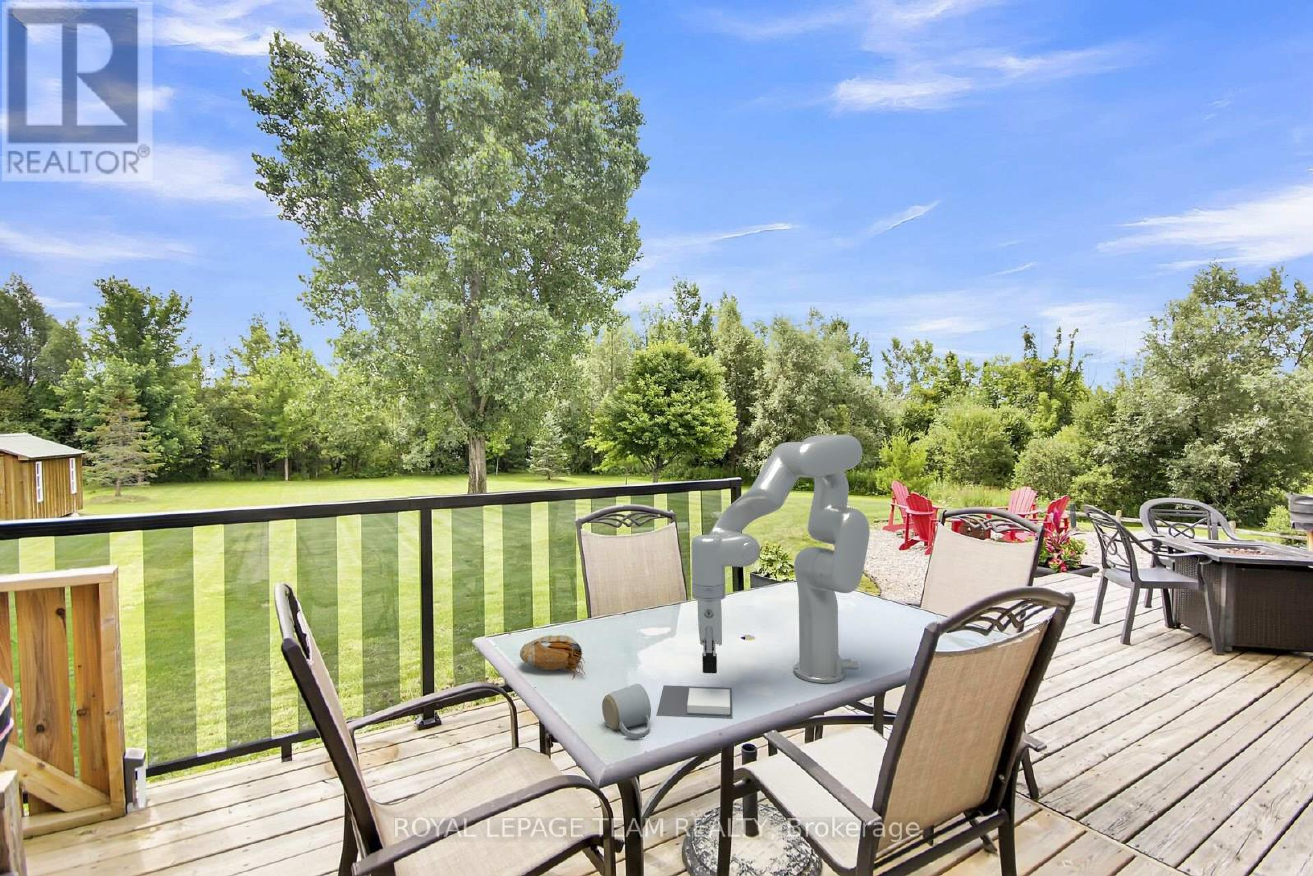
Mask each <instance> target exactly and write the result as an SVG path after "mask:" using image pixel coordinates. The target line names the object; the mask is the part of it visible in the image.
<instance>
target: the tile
mask: <svg viewBox="0 0 1313 876" xmlns="http://www.w3.org/2000/svg"><path fill="white" fill-rule="evenodd" d="M687 713H688V714H695V715H719V716H729V714H730V689H704V688H689V696H688V703H687Z"/></svg>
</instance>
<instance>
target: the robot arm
mask: <svg viewBox="0 0 1313 876" xmlns="http://www.w3.org/2000/svg"><path fill="white" fill-rule="evenodd" d="M862 456H863V447H862V444H861V442H860V441H859V440H858V439H857V437H855V436H852V435H851V434H817V435H812V436H809V437H807V438H805V439H804V440H803V441H788V442H784V443H780V444H778V445H777V446H776V447H775V448H774V449H773V450H772V452H771V454H770V456H769V458H768V459H767V460H766V462H765V464H764V466H763V468H762V469H761V471H760V472H759V474H758V475H757V477H756V479H755V481H754V482H753V484H752V485H751V487H750V488H749V489H748V490H747V491H746V492H744V493H743V494H742V495H740V496H739V497H738V498H737V499H736V500H735V501H733V502H732V503H731V504H730V505H729V506H727V507H726V508H725V510H723V511H722V513H721V514H720V516H719V517H718V519H717V520H716V522H715V524H714V525H713V527H712V529H711V530H710V532H709V534H700V535H699V534H698V535H695V536H694V537H693V538H692V540H691V595H692V596H691V597H692V599H694V600H697V622H698V623H697V625H698V635H699V643H700V645H701V646H702V647H703V648H702V649H703V650H702V651H703V652H702V654H701V655H702V661H701V662H702V673H703V674H713V675H714V674H717V672H718V662H717V661H718V660H717V659H718V655H717V653H716V651H717V650H716V649H717V648H716V646H717V645H719V646H722V643H723V630H722V629H723V618H722V616H723V615H722V614H723V612H722V600H724V599H725V598H726V567H736V568H737V567H738V568H744V567H745V568H746V567H748V566H752V565H753V564H755V563H756V562H757V561H758V559H759V558H760V555H761V546H760V543H759V542H758V541H757V539H756V538H755V537H754V536H751V535H749V534H747V533H743V530H745V528H746V527H747V526H748V525H750V524H751V523H752V522H754V521H756V520H757V519H759V518H762V517H764V516H767V515H770V514H772V513H775V512H776V511H779V510H780V509H781V508H782V507H783V505H784V504H785V502H786V499H787V498H788V496H789V495H790V493H791V491H792V489H793V488H794V486H795V484H796V483H797V481H798V479H799V478H810V479H811V478H812V479H813V481H814V482H813V483H814V488H813V496H812V502H811V507H810V511H809V517H808V522H807V531H808V535H809V537H811V538H812V539H813V540H815V541H817V542H820V543H824V544H828V545H834V549H831V548H830V549H829V548H824V547H820V546H809V547H808V546H807V547H805V548H803V549H801V550H800V551H799V552H798V553H797V554H796V556H795V559H794V564H793V566H794V567H793V569H794V575H795V581H796V584H797V585H796V586H797V592H798V641H799V642H798V647H799V648H798V649H799V651H798V653H799V655H798V656H799V658H798V659H799V660H798V661H799V662H797V663H795V664H793V667H792V669H793V670H792V671H793V674H794V675H795V676H796V677H798V678H800V679H802V680H805V681H806V682H807V681H808V682H811V683H818V684H830V683H831V684H832V683H838V682H840V681H843V680H844V679H845V678H846V670H858V671H859V670H860V669H859V668H860V667H859V665H860V664H859V661H858V660H852V659H851V658H842V657H840V655H839V654H840V653H839V605H838V599H837V595H836V593H840V594H849V593H852V592H854V591H855V590H857V588H858V586H859V585H860V584H861V581H862V577H863V574H864V569H865V563H866V558H867V552H868V547H869V541H870V533H871V532H870V525H869V524H870V523H869V521H868V518H867V516H866V515H865V514H864V513H863V512H862V511H861V510H859V509H857V508H854V507H852V508H851V507H848V501H849V493H850V486H849V481H848V478H847V476H846V474H845V471H848V470H853V468H855V467H857V466H858V465H859V463H860V462H861V460H862ZM835 592H836V593H835Z"/></svg>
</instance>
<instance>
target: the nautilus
mask: <svg viewBox="0 0 1313 876" xmlns="http://www.w3.org/2000/svg"><path fill="white" fill-rule="evenodd" d="M583 654H584V653H583V649H582V647H581V645H580V644H579V643H578V642H577V641H576V640H575V639H574V638H572V637H571V636H568V635H559V634H557V635H544V636H542V637H539V638H536V639H534V640H532V641H529V642H528V643H525V644H523V645H522V647H521V649H520V651H519V657H520V659H521V661H522V662H524V663H525V664H527V665H533V667H535V668H536V669H538V670H540V669H541V671H546V670H547V671H554V670H557V669H560V670H568V671H571V672H573V677H572V679H574V678H575V676H576V673H577V674H579V675H582V676H584V677H586V672H585V671H584V665H583V662H584V664H586V663H585V659H584V658H583V656H582V655H583ZM582 661H583V662H582ZM579 664H580V665H581V666H580V665H579ZM577 669H578V671H577ZM581 671H582V672H581Z"/></svg>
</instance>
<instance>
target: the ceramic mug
mask: <svg viewBox="0 0 1313 876" xmlns="http://www.w3.org/2000/svg"><path fill="white" fill-rule="evenodd" d="M601 704H602V705H601V709H602V710H601V711H602V716H603V720H604V722H605V724H606V725H607V727H608V728H609V729H611V730H613V731H621V733H623V734H624V735H625V736H626V738H629V739H631V740H640V739H639V738H641V739H643V738H642V737H644V738H645V737H646V735H647V734H649V731H650V727H651V723H650V722H651V721H650V719H651V716H652V707H651V705H652V704H651V702H650V698H649V695H648V692H647V690H646V689H645V687H643V685H642V684H640V683H635V684H632V685H628V686H626V687H624V688H620V689H618V690H615V691H612V692H610V693H607V694H606V695H605V696H604V697H603V699H602V703H601ZM644 724H646V729H645V730H644V731H642V732H632V731H630V730H628V728H631V727H635V726H640V725H644Z"/></svg>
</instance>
